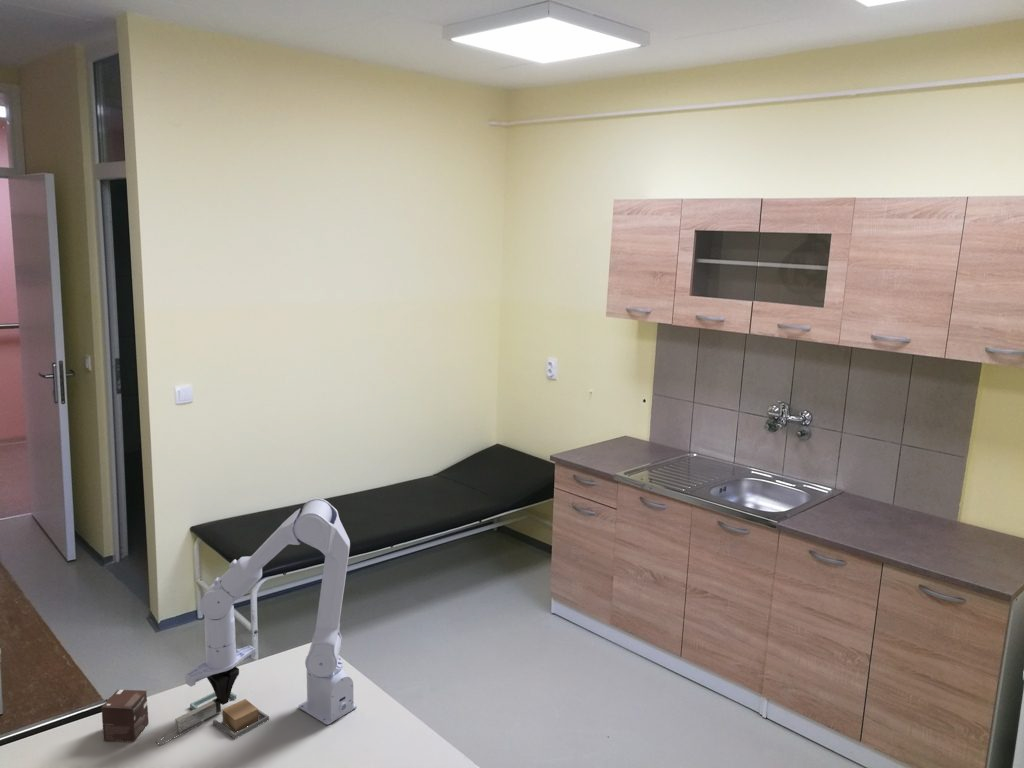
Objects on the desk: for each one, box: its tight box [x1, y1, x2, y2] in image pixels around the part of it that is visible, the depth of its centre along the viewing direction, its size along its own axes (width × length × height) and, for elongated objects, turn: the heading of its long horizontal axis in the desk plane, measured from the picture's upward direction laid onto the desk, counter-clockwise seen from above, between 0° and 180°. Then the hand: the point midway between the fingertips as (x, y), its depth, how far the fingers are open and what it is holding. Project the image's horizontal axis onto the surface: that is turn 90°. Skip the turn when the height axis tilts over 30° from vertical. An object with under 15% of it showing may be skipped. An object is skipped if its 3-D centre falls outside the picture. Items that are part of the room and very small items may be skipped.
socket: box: [155, 709, 270, 746], centre depth 149 cm, size 11×18×1 cm, turn 143°
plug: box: [221, 698, 260, 733], centre depth 152 cm, size 5×5×3 cm
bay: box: [189, 691, 237, 710], centre depth 158 cm, size 4×8×1 cm, turn 143°
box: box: [101, 689, 149, 743], centre depth 147 cm, size 6×6×7 cm
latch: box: [174, 697, 222, 732], centre depth 151 cm, size 1×9×2 cm, turn 143°
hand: (223, 701), depth 155 cm, fingers closed
